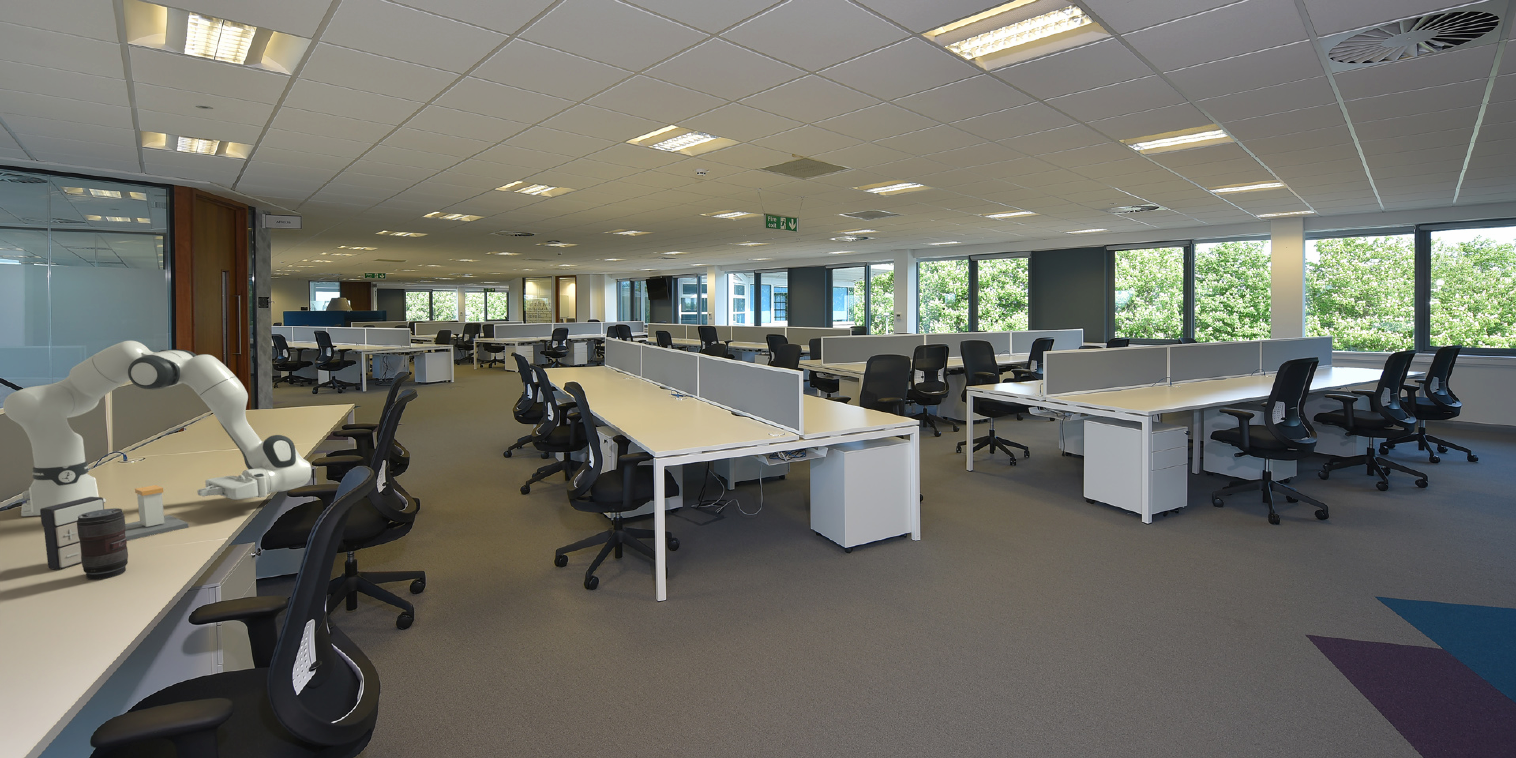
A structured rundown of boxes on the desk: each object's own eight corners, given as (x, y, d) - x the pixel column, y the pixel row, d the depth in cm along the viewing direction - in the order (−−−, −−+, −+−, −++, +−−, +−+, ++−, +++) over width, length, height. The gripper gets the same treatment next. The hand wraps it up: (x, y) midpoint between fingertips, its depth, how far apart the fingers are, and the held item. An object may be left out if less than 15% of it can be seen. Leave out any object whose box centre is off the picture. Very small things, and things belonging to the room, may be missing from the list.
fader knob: (138, 523, 194) (134, 488, 192) (158, 519, 197) (155, 485, 196) (145, 527, 191) (142, 491, 189) (166, 522, 194) (163, 487, 193)
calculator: (60, 570, 163) (53, 509, 162) (46, 569, 164) (39, 508, 163) (111, 554, 174) (105, 497, 172) (98, 553, 175) (92, 496, 173)
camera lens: (126, 565, 167) (120, 505, 165) (132, 573, 162) (126, 511, 160) (80, 575, 161) (73, 513, 159) (85, 584, 156) (78, 520, 154)
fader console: (57, 542, 183) (56, 537, 183) (169, 518, 203) (169, 514, 203) (73, 552, 175) (72, 547, 175) (188, 527, 195) (188, 522, 195)
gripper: (238, 468, 219) (184, 478, 208) (267, 477, 208) (212, 487, 197) (239, 488, 220) (186, 498, 209) (268, 497, 209) (214, 508, 198)
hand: (199, 493), depth 203 cm, fingers closed
